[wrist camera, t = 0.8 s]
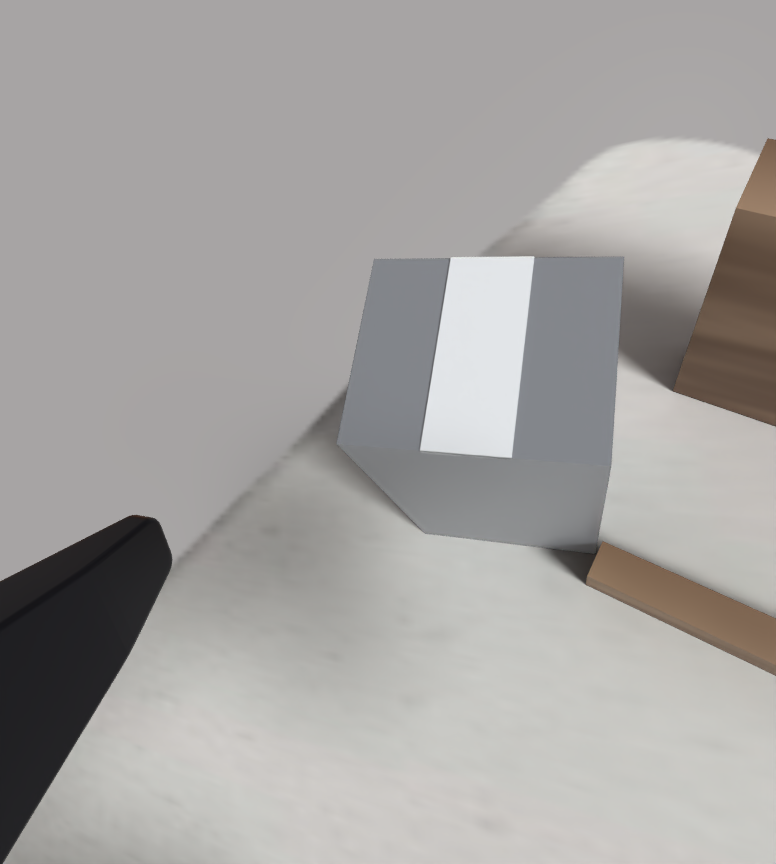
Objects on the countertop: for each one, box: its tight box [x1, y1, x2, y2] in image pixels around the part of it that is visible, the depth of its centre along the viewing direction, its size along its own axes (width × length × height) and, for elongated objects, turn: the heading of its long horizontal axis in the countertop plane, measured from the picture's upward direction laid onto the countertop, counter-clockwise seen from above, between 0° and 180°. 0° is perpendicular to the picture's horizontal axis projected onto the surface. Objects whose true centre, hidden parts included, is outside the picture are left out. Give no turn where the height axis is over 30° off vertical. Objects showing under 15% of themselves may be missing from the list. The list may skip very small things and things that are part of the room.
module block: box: [336, 256, 624, 554], centre depth 19 cm, size 5×6×10 cm
